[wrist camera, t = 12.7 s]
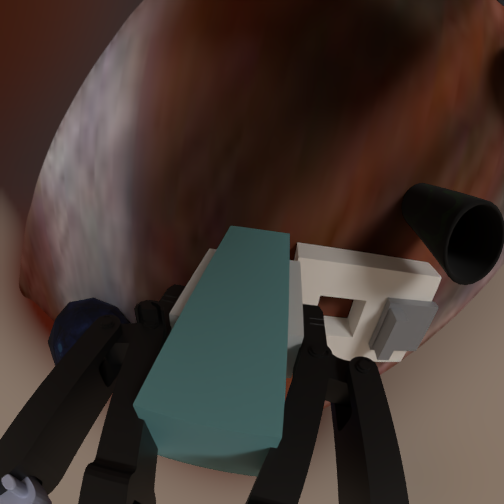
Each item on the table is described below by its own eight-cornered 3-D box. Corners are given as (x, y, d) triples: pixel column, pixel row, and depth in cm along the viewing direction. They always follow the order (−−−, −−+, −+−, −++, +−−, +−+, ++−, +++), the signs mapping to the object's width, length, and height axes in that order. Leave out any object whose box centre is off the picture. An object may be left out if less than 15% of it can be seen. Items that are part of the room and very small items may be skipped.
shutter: (387, 297, 28) (397, 316, 25) (434, 301, 28) (446, 318, 25) (368, 343, 31) (373, 363, 28) (413, 345, 31) (421, 363, 28)
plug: (230, 225, 19) (132, 404, 6) (289, 233, 18) (281, 437, 6) (227, 276, 20) (157, 454, 8) (281, 284, 20) (262, 476, 7)
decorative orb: (71, 267, 31) (18, 354, 23) (159, 332, 33) (106, 423, 26) (89, 288, 43) (49, 353, 36) (154, 336, 45) (115, 402, 38)
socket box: (297, 242, 31) (298, 257, 28) (428, 262, 30) (441, 277, 27) (279, 334, 37) (278, 354, 34) (393, 343, 36) (400, 361, 32)
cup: (425, 246, 29) (474, 297, 19) (382, 217, 29) (427, 263, 18) (455, 196, 26) (515, 229, 15) (413, 161, 26) (475, 181, 15)
